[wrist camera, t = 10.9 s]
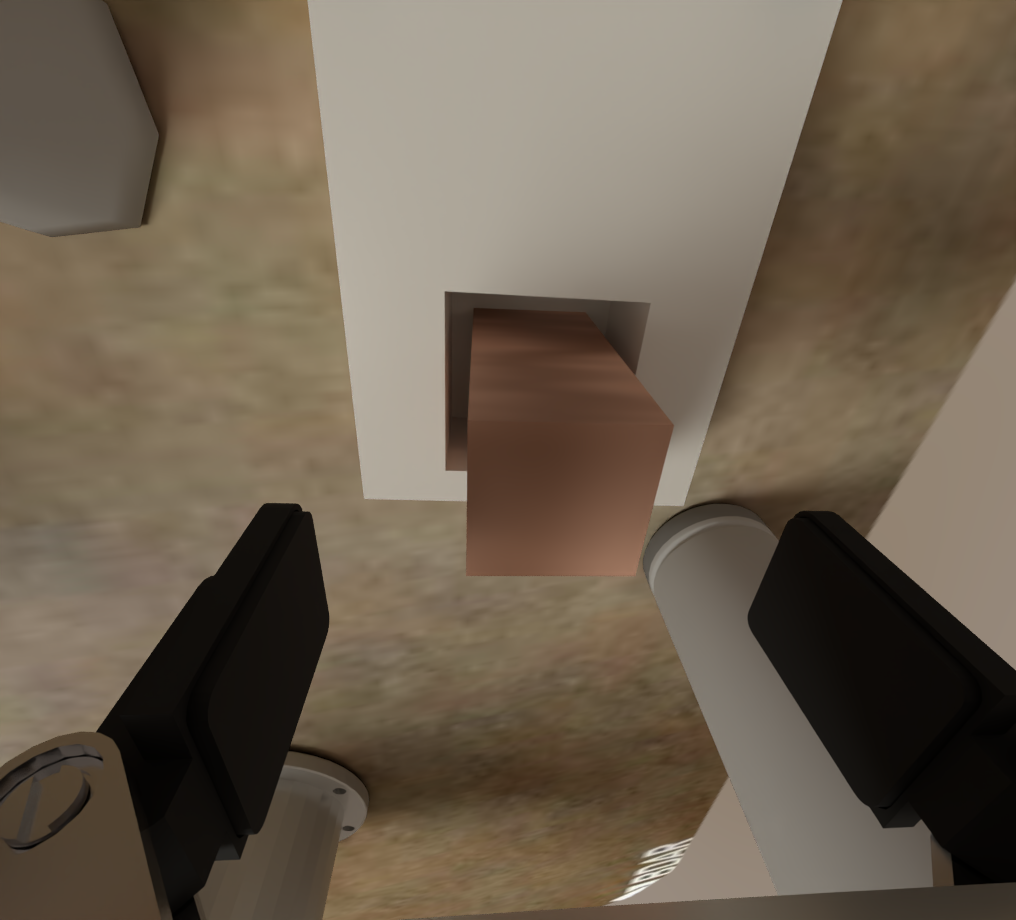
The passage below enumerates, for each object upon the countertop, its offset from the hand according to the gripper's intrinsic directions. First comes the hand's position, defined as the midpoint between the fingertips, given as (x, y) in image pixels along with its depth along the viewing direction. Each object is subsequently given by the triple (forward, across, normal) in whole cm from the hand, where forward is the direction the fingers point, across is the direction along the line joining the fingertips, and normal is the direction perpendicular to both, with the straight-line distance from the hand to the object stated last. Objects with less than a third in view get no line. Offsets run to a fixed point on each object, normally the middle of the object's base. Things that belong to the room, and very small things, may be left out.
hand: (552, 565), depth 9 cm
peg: (+10, 0, -1) cm, 10 cm away
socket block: (+10, 0, -5) cm, 12 cm away
